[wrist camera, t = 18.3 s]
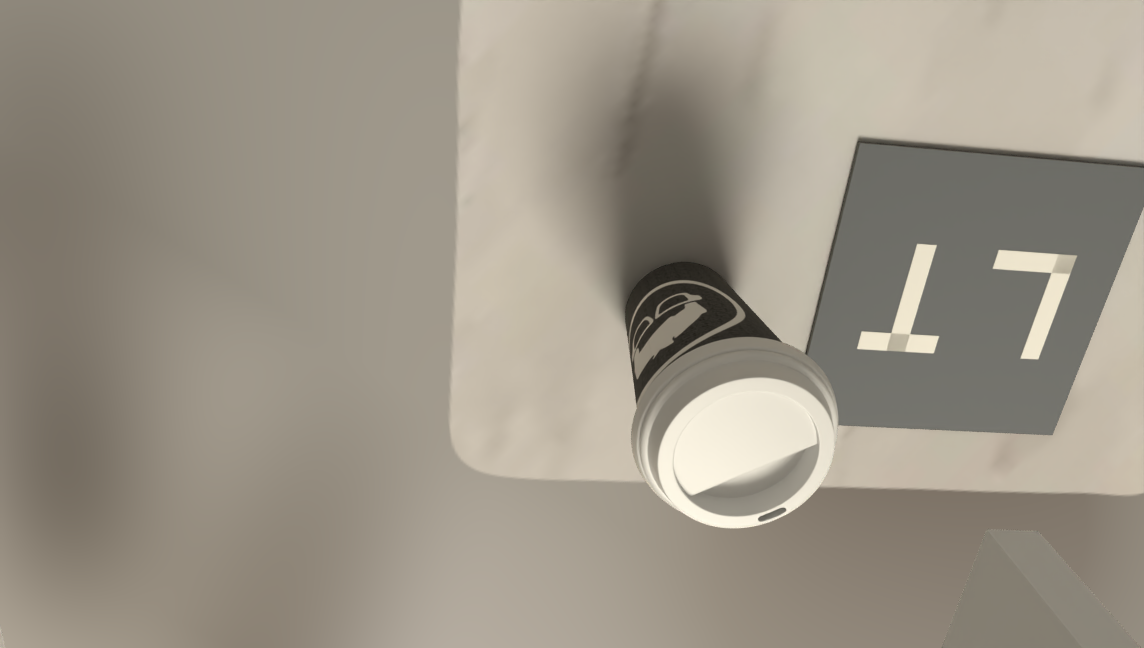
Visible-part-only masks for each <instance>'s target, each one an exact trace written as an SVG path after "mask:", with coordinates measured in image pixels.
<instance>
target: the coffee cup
mask: <svg viewBox="0 0 1144 648" xmlns="http://www.w3.org/2000/svg"><path fill="white" fill-rule="evenodd" d="M625 317H626V328H627V336H628V343H629V350H630V358H631V366H632V373H633V381H634V389H635V396H636V404H637V409H636V412H635V415H634V419H633V424H632V431H631V444H632V452H633V456H634V460H635V463H636V465H637V468H638V470H639V472H640V473H641V475H642V477H643V478H644V480H645V481H646V482H647V484H648V485H649V486H650V488H651V489H652V490H653V491H654V492H655V493H656V494H657V495H658V496H659V497H660V498H661V499H662V500H664V501H665V502H666V503H668V504H669V505H671V506H672V507H673V508H675V509H677V510H678V511H680V512H682V513H684V514H685V515H687V516H688V517H690V518H692V519H694V520H696V521H698V522H701V523H704V524H707V525H711V526H716V527H722V528H746V527H752V526H757V525H761V524H765V523H768V522H771V521H773V520H776V519H778V518H780V517H782V516H784V515H786V514H788V513H790V512H791V511H793V510H794V509H796V508H797V507H799V506H800V505H801V504H803V503H804V502H805V501H806V500H807V499H808V498H809V497H810V496H811V495H812V494H813V493H814V492H815V491H816V490H817V488H818V487H819V486H820V484H821V483H822V482H823V480H824V478H825V477H826V475H827V473H828V471H829V468H830V466H831V463H832V460H833V456H834V450H835V444H836V440H837V434H838V409H837V404H836V399H835V395H834V391H833V389H832V386H831V384H830V382H829V380H828V378H827V376H826V375H825V373H824V372H823V370H822V369H821V368H820V367H819V366H818V365H817V363H815V362H814V361H813V360H812V359H811V358H810V357H809V356H807V355H806V354H805V353H803V352H802V351H800V350H798V349H796V348H794V347H792V346H790V345H788V344H785V343H782V342H781V340H780V339H779V338H778V337H777V336H776V335H775V334H774V333H773V332H772V331H771V330H770V329H769V328H768V327H767V326H766V325H765V324H764V322H763V321H762V320H761V319H760V318H759V317H758V316H757V315H756V314H755V313H754V312H753V311H752V310H751V309H750V307H749V306H748V305H747V304H746V303H745V302H744V301H743V300H742V299H741V298H740V297H739V296H738V295H737V294H736V292H735V291H734V290H733V289H732V288H731V287H730V286H729V285H728V284H727V283H726V282H725V281H724V280H723V278H722V277H721V276H719V275H718V274H717V273H716V272H715V271H713V270H711V269H710V268H708V267H705V266H703V265H700V264H696V263H688V262H681V263H673V264H669V265H665V266H663V267H660V268H658V269H656V270H654V271H652V272H651V273H649V274H648V275H647V276H645V277H644V278H643V279H642V280H641V281H640V282H639V283H638V284H637V286H636V287H635V288H634V290H633V292H632V293H631V295H630V298H629V300H628V303H627V307H626V316H625Z"/></svg>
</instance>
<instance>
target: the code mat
mask: <svg viewBox="0 0 1144 648" xmlns="http://www.w3.org/2000/svg"><path fill="white" fill-rule="evenodd" d="M1143 207H1144V167H1138V166H1127V165H1116V164H1104V163H1093V162H1082V161H1070V160H1059V159H1048V158H1036V157H1025V156H1014V155H1002V154H991V153H980V152H968V151H957V150H946V149H934V148H923V147H912V146H900V145H889V144H878V143H866V142H858V145H857V149H856V153H855V157H854V161H853V165H852V169H851V173H850V177H849V181H848V185H847V189H846V193H845V197H844V201H843V205H842V209H841V214H840V218H839V222H838V226H837V230H836V234H835V238H834V242H833V246H832V250H831V254H830V258H829V262H828V266H827V270H826V274H825V279H824V283H823V287H822V291H821V295H820V299H819V303H818V307H817V311H816V315H815V319H814V323H813V327H812V331H811V335H810V339H809V343H808V348H807V352H806V355H807V356H809V357H810V358H811V359H812V360H813V361H814V362H815V363H817V365H818V366H819V367H820V368H821V369H822V370H823V372H824V373H825V375H826V376H827V378H828V380H829V382H830V384H831V386H832V389H833V391H834V395H835V399H836V404H837V409H838V425H844V426H865V427H887V428H908V429H929V430H951V431H972V432H994V433H1015V434H1037V435H1053V432H1054V430H1055V427H1056V425H1057V422H1058V420H1059V417H1060V415H1061V412H1062V410H1063V407H1064V405H1065V402H1066V400H1067V397H1068V395H1069V392H1070V390H1071V387H1072V385H1073V382H1074V380H1075V377H1076V375H1077V372H1078V370H1079V367H1080V365H1081V362H1082V360H1083V357H1084V355H1085V352H1086V350H1087V347H1088V345H1089V342H1090V340H1091V337H1092V335H1093V332H1094V330H1095V327H1096V325H1097V322H1098V320H1099V317H1100V315H1101V312H1102V310H1103V307H1104V305H1105V302H1106V300H1107V297H1108V295H1109V292H1110V290H1111V287H1112V285H1113V282H1114V280H1115V277H1116V275H1117V272H1118V270H1119V267H1120V265H1121V262H1122V260H1123V257H1124V255H1125V252H1126V250H1127V247H1128V245H1129V242H1130V240H1131V237H1132V235H1133V232H1134V230H1135V227H1136V225H1137V222H1138V220H1139V217H1140V215H1141V212H1142V210H1143Z"/></svg>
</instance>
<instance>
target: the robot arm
mask: <svg viewBox="0 0 1144 648" xmlns="http://www.w3.org/2000/svg"><path fill="white" fill-rule="evenodd" d="M0 648H5V644H4V640H3V635H2V631H1V627H0ZM942 648H1141V647H1140V646H1139V645H1138V644H1137V642H1136V641H1135V640H1134V639H1133V638H1132V637H1131V636H1130V635H1129V633H1128V632H1127V631H1126V630H1125V629H1124V628H1123V627H1122V626H1121V624H1120V623H1119V622H1118V621H1117V620H1116V619H1115V618H1114V616H1113V615H1112V614H1111V613H1110V612H1109V611H1108V610H1107V609H1106V607H1104V605H1103V604H1102V603H1101V602H1100V601H1099V600H1098V599H1097V597H1096V596H1095V595H1094V594H1093V593H1092V592H1091V591H1090V589H1089V588H1088V587H1087V586H1086V585H1085V584H1084V583H1083V581H1082V580H1081V579H1080V578H1079V577H1078V576H1077V575H1076V574H1075V572H1074V571H1073V570H1072V569H1071V568H1070V567H1069V566H1068V565H1067V563H1066V562H1065V561H1064V560H1063V559H1062V558H1061V557H1060V555H1059V554H1058V553H1057V552H1056V551H1055V550H1054V549H1053V548H1052V547H1051V545H1050V544H1049V543H1048V542H1047V541H1046V540H1045V539H1044V537H1043V536H1042V535H1041V534H1040V533H1039V532H1038V531H1018V530H989V529H987V530H986V533H985V535H984V538H983V541H982V543H981V546H980V549H979V551H978V554H977V557H976V559H975V562H974V564H973V567H972V569H971V572H970V575H969V577H968V580H967V582H966V585H965V588H964V591H963V593H962V595H961V598H960V601H959V603H958V606H957V609H956V611H955V614H954V616H953V619H952V622H951V624H950V627H949V630H948V632H947V635H946V637H945V640H944V642H943V645H942Z"/></svg>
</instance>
